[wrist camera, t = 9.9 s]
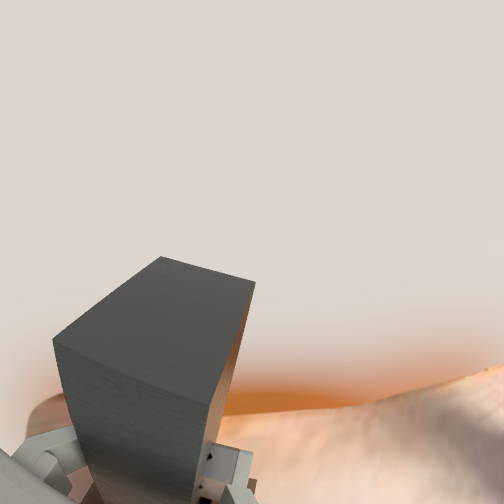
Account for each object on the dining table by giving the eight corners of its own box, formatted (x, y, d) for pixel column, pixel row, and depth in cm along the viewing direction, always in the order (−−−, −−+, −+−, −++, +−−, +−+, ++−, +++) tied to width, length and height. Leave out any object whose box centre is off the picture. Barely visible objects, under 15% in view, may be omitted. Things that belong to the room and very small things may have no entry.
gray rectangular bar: (199, 503, 14) (255, 282, 9) (178, 563, 9) (209, 404, 4) (154, 488, 14) (161, 256, 9) (127, 545, 9) (52, 338, 4)
